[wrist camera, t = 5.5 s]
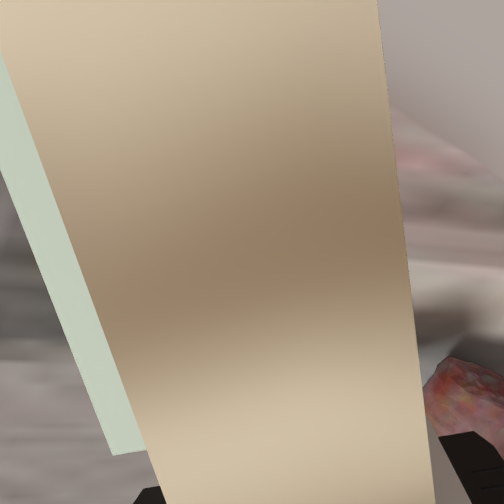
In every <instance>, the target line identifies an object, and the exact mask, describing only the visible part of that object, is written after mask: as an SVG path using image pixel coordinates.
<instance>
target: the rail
mask: <svg viewBox="0 0 504 504" xmlns="http://www.w3.org/2000/svg"><path fill="white" fill-rule="evenodd" d="M0 51H1V54H2V57H3V59H4V62H5V65H6V67H7V70H8V73H9V76H10V78H11V81H12V84H13V87H14V89H15V92H16V95H17V97H18V100H19V103H20V106H21V108H22V111H23V114H24V117H25V119H26V122H27V125H28V127H29V130H30V133H31V136H32V138H33V141H34V144H35V146H36V149H37V152H38V155H39V157H40V160H41V163H42V166H43V168H44V171H45V174H46V176H47V179H48V182H49V185H50V187H51V190H52V193H53V196H54V198H55V201H56V204H57V206H58V209H59V212H60V215H61V217H62V220H63V223H64V226H65V228H66V231H67V234H68V236H69V239H70V242H71V245H72V247H73V250H74V253H75V256H76V258H77V261H78V264H79V266H80V269H81V272H82V275H83V277H84V280H85V283H86V285H87V288H88V291H89V294H90V296H91V299H92V302H93V305H94V307H95V310H96V313H97V315H98V318H99V321H100V324H101V326H102V329H103V332H104V335H105V337H106V340H107V343H108V345H109V348H110V351H111V354H112V356H113V359H114V362H115V365H116V367H117V370H118V373H119V375H120V378H121V381H122V384H123V386H124V389H125V392H126V394H127V397H128V400H129V403H130V405H131V408H132V411H133V414H134V416H135V419H136V422H137V424H138V427H139V430H140V433H141V435H142V438H143V441H144V444H145V446H146V449H147V452H148V454H149V457H150V460H151V463H152V465H153V468H154V471H155V474H156V476H157V479H158V482H159V484H160V487H161V490H162V493H163V495H164V498H165V501H166V504H436V503H435V494H434V486H433V477H432V468H431V460H430V451H429V443H428V434H427V425H426V417H425V408H424V400H423V391H422V382H421V374H420V365H419V357H418V348H417V339H416V331H415V322H414V314H413V305H412V296H411V288H410V279H409V270H408V262H407V253H406V245H405V236H404V227H403V219H402V210H401V202H400V193H399V184H398V176H397V167H396V159H395V150H394V141H393V133H392V124H391V116H390V107H389V99H388V90H387V82H386V72H385V64H384V56H383V47H382V39H381V30H380V21H379V12H378V4H377V0H0Z"/></svg>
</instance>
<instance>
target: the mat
mask: <svg viewBox="0 0 504 504" xmlns="http://www.w3.org/2000/svg"><path fill="white" fill-rule="evenodd" d="M0 170H1V172H2V175H3V177H4V180H5V182H6V185H7V188H8V190H9V193H10V195H11V198H12V200H13V203H14V205H15V208H16V210H17V213H18V216H19V218H20V221H21V223H22V226H23V228H24V231H25V233H26V236H27V238H28V241H29V244H30V246H31V249H32V251H33V254H34V256H35V259H36V261H37V264H38V266H39V269H40V272H41V274H42V277H43V279H44V282H45V284H46V287H47V289H48V292H49V294H50V297H51V300H52V302H53V305H54V307H55V310H56V312H57V315H58V317H59V320H60V322H61V325H62V328H63V330H64V333H65V335H66V338H67V340H68V343H69V345H70V348H71V350H72V353H73V356H74V358H75V361H76V363H77V366H78V368H79V371H80V373H81V376H82V378H83V381H84V384H85V386H86V389H87V391H88V394H89V396H90V399H91V401H92V404H93V406H94V409H95V412H96V414H97V417H98V419H99V422H100V424H101V427H102V429H103V432H104V434H105V437H106V440H107V442H108V445H109V447H110V450H111V452H112V455H119V454H124V453H130V452H136V451H142V450H147V449H146V446H145V444H144V441H143V438H142V435H141V433H140V430H139V427H138V424H137V422H136V419H135V416H134V414H133V411H132V408H131V405H130V403H129V400H128V397H127V394H126V392H125V389H124V386H123V384H122V381H121V378H120V375H119V373H118V370H117V367H116V365H115V362H114V359H113V356H112V354H111V351H110V348H109V345H108V343H107V340H106V337H105V335H104V332H103V329H102V326H101V324H100V321H99V318H98V315H97V313H96V310H95V307H94V305H93V302H92V299H91V296H90V294H89V291H88V288H87V285H86V283H85V280H84V277H83V275H82V272H81V269H80V266H79V264H78V261H77V258H76V256H75V253H74V250H73V247H72V245H71V242H70V239H69V236H68V234H67V231H66V228H65V226H64V223H63V220H62V217H61V215H60V212H59V209H58V206H57V204H56V201H55V198H54V196H53V193H52V190H51V187H50V185H49V182H48V179H47V176H46V174H45V171H44V168H43V166H42V163H41V160H40V157H39V155H38V152H37V149H36V146H35V144H34V141H33V138H32V136H31V133H30V130H29V127H28V125H27V122H26V119H25V117H24V114H23V111H22V108H21V106H20V103H19V100H18V97H17V95H16V92H15V89H14V87H13V84H12V81H11V78H10V76H9V73H8V70H7V67H6V65H5V62H4V59H3V57H2V54H1V51H0Z"/></svg>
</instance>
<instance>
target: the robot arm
mask: <svg viewBox="0 0 504 504" xmlns="http://www.w3.org/2000/svg"><path fill="white" fill-rule="evenodd" d="M425 417H426V425H427V434H428V443H429V451H430V460H431V468H432V477H433V486H434V494H435V503H436V504H504V460H503V459H502V457H501V456H500V454H499V453H498V451H497V450H496V448H495V447H494V446H493V445H492V444H491V443H489V442H488V441H487V440H485V439H484V438H483V437H481V436H480V435H479V434H477V433H476V432H475V431H469V432H464V433H458V434H452V435H446V436H440V437H437V435H436V433H435V431H434V429H433V427H432V425H431V423H430V421H429V419H428V418H427V416H426V414H425ZM133 504H166V501H165V498H164V495H163V493H162V490H161V487H160V486H156V487H150V488H145V489H143V490H142V492H141V493H140V495H139V496H138V497H137V499H136V500H135V502H134V503H133Z"/></svg>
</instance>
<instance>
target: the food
mask: <svg viewBox="0 0 504 504" xmlns="http://www.w3.org/2000/svg"><path fill="white" fill-rule="evenodd" d="M422 391H423V400H424V408H425V414H426V416H427V418H428V419H429V421H430V423H431V425H432V427H433V429H434V431H435V433H436V435H437V437H440V436H446V435H452V434H458V433H464V432H469V431H475V432H476V433H477V434H479V435H480V436H481V437H483V438H484V439H485V440H487V441H488V442H489V443H491V444H492V445H493V446H494V447H495V448H496V450H497V451H498V453H499V454H500V456H501V457H502V459H503V460H504V378H503V377H502V376H501V375H499V374H497V373H495V372H493V371H492V370H490V369H487V368H485V367H482V366H479V365H477V364H475V363H471V362H466V361H463V360H460V359H457V358H455V357H452V356H448V357H447V358H445V359H444V360H443V361H442V362H441V363H439V364H438V365H437V368H436V371H435V373H434V374H433V376H432V377H431V378H430V379H429V380H428V381H427V383H426V384H425V385H424V387H423V388H422Z"/></svg>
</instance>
